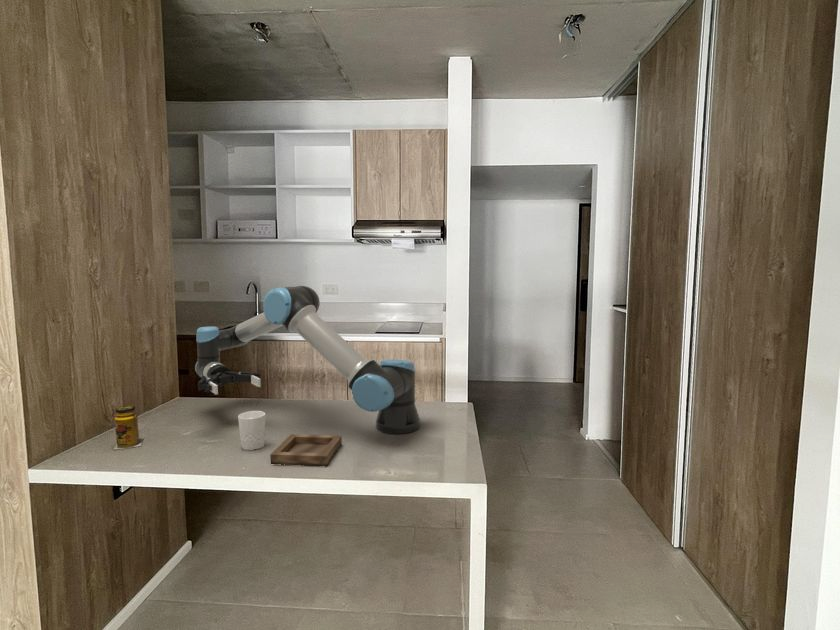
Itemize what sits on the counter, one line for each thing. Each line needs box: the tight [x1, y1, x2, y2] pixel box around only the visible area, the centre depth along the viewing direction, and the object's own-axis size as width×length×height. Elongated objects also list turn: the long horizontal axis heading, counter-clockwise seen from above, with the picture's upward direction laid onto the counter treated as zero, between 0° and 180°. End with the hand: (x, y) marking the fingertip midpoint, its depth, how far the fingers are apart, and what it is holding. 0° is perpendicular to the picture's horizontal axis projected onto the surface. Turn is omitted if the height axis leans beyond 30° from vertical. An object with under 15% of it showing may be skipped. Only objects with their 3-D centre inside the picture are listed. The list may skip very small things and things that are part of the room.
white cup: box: [237, 410, 266, 451], centre depth 150 cm, size 8×8×10 cm
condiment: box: [113, 405, 145, 450], centre depth 153 cm, size 7×8×12 cm
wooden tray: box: [269, 433, 343, 468], centre depth 143 cm, size 16×16×3 cm
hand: (238, 386), depth 156 cm, fingers open, 13 cm apart
